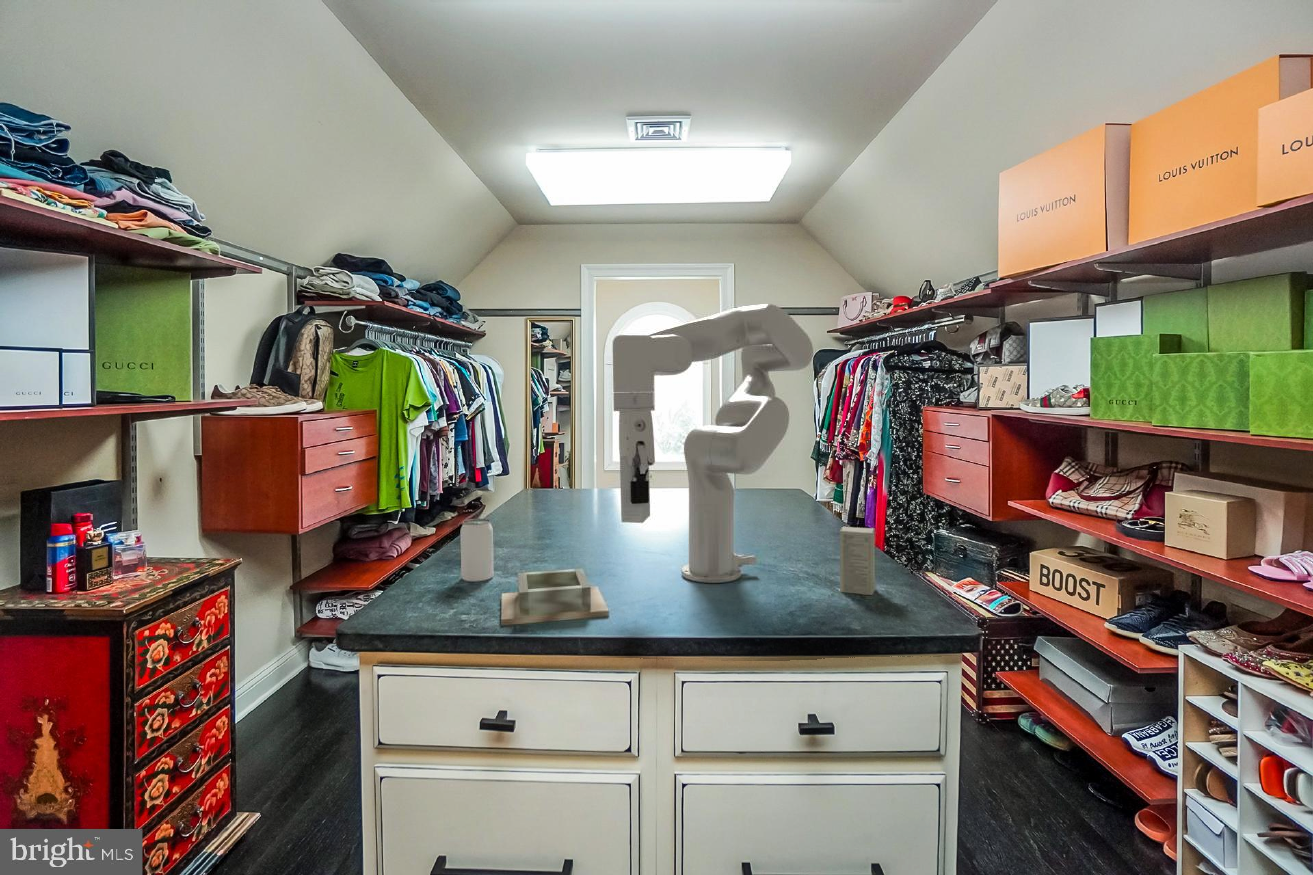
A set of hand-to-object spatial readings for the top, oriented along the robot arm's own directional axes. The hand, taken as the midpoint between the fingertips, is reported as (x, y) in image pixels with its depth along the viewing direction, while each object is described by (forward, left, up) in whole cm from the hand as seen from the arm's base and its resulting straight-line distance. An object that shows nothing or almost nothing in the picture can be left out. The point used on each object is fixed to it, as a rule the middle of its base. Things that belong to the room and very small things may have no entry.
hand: (635, 498), depth 114 cm
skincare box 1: (0, 0, -4) cm, 4 cm away
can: (+29, -22, -19) cm, 41 cm away
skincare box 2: (-43, +5, -19) cm, 47 cm away
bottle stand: (+15, 0, -19) cm, 24 cm away
